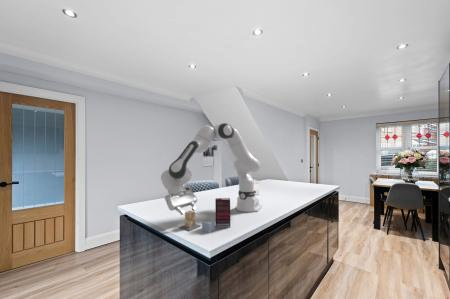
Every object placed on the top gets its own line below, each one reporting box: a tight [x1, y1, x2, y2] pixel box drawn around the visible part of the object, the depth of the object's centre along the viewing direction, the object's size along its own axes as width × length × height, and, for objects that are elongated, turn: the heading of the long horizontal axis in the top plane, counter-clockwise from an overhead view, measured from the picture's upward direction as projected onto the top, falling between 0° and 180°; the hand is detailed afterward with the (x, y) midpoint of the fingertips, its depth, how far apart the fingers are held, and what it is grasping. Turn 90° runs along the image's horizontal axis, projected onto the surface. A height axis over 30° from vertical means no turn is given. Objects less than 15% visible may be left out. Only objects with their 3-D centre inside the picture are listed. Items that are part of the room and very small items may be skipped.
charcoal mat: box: [179, 223, 202, 232], centre depth 116 cm, size 9×8×1 cm
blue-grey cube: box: [201, 219, 216, 234], centre depth 111 cm, size 5×5×5 cm
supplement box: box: [214, 197, 231, 229], centre depth 118 cm, size 9×5×16 cm, turn 92°
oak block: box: [184, 210, 196, 228], centre depth 116 cm, size 4×4×8 cm
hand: (189, 212), depth 117 cm, fingers open, 8 cm apart
